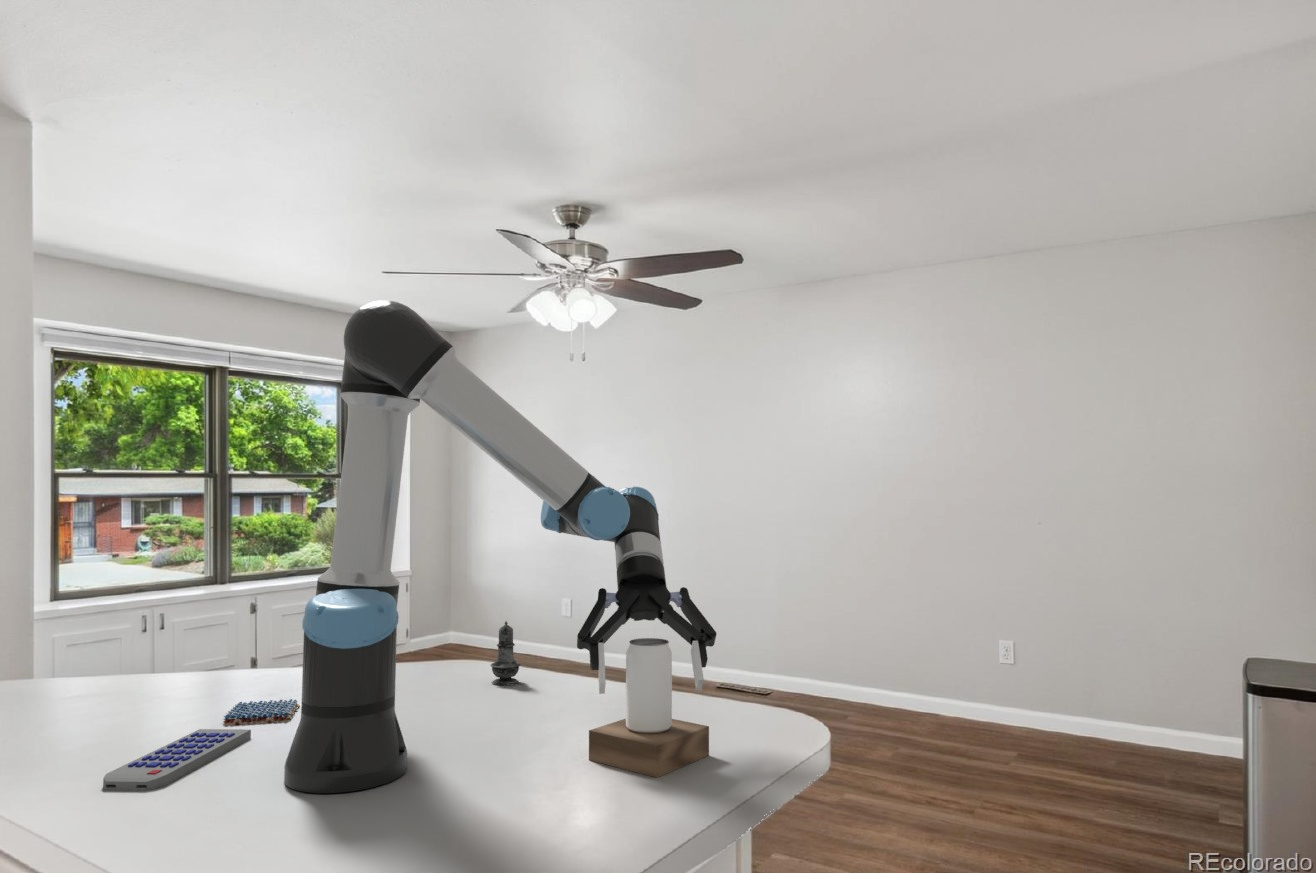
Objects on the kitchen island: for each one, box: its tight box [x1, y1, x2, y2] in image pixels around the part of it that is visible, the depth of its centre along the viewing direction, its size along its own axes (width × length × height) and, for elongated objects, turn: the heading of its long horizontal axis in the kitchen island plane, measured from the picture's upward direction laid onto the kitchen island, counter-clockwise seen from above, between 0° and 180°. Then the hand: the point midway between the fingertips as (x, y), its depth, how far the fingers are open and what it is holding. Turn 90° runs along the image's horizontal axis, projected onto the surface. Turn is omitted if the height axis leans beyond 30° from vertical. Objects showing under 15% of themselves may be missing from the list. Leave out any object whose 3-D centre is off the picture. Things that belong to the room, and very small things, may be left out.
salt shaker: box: [490, 620, 522, 687], centre depth 164 cm, size 6×6×12 cm
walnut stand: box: [588, 718, 710, 778], centre depth 117 cm, size 12×12×4 cm
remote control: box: [102, 728, 252, 791], centre depth 115 cm, size 8×23×2 cm, turn 178°
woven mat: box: [222, 698, 301, 726], centre depth 139 cm, size 10×11×2 cm
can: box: [625, 637, 673, 734], centre depth 117 cm, size 6×6×12 cm
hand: (651, 687), depth 115 cm, fingers open, 13 cm apart
